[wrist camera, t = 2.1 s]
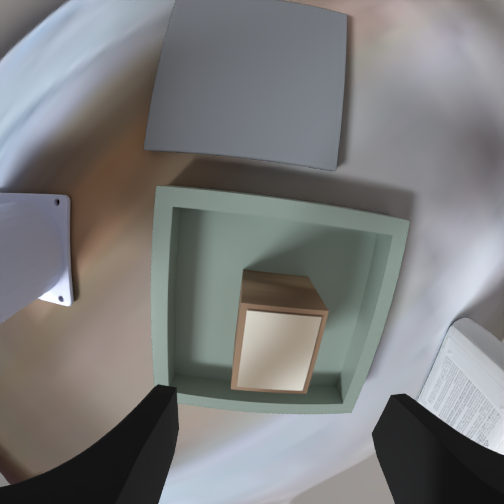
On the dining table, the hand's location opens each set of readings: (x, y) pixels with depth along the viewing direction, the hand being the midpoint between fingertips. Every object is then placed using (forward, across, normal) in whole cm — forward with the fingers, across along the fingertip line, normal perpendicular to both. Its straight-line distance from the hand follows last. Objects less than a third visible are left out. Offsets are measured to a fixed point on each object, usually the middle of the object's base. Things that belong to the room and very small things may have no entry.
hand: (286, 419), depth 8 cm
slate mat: (+10, +3, -14) cm, 18 cm away
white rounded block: (+11, -17, +6) cm, 21 cm away
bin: (+10, 0, +1) cm, 11 cm away
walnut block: (+10, 0, +1) cm, 10 cm away
